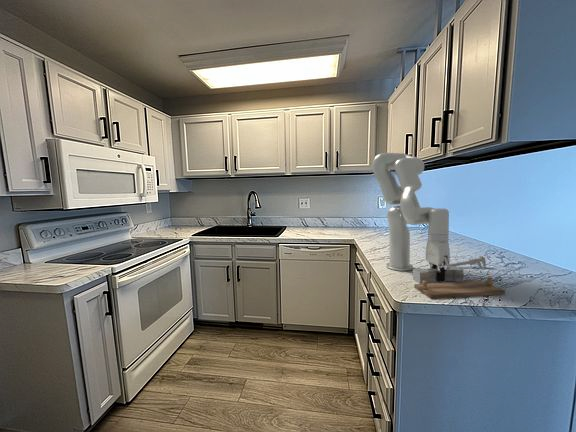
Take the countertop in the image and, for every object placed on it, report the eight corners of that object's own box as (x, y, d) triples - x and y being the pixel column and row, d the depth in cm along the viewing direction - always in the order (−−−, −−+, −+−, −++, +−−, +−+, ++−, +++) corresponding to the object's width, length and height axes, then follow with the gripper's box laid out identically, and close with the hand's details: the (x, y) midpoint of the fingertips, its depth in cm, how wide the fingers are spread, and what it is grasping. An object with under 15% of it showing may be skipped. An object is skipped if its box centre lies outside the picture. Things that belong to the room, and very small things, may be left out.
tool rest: (414, 287, 105) (414, 276, 104) (480, 283, 106) (480, 273, 106) (430, 298, 94) (430, 286, 93) (504, 294, 95) (504, 282, 95)
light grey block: (412, 279, 114) (412, 268, 114) (454, 276, 115) (454, 265, 115) (420, 284, 109) (419, 272, 108) (463, 281, 110) (463, 269, 109)
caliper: (484, 267, 128) (484, 255, 128) (485, 268, 127) (486, 255, 127) (440, 267, 131) (440, 255, 130) (441, 268, 130) (441, 256, 129)
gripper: (418, 234, 118) (418, 274, 120) (442, 241, 102) (441, 286, 103) (434, 234, 119) (434, 273, 120) (460, 240, 102) (459, 285, 104)
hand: (437, 279), depth 112 cm, fingers closed on light grey block, 3 cm apart
